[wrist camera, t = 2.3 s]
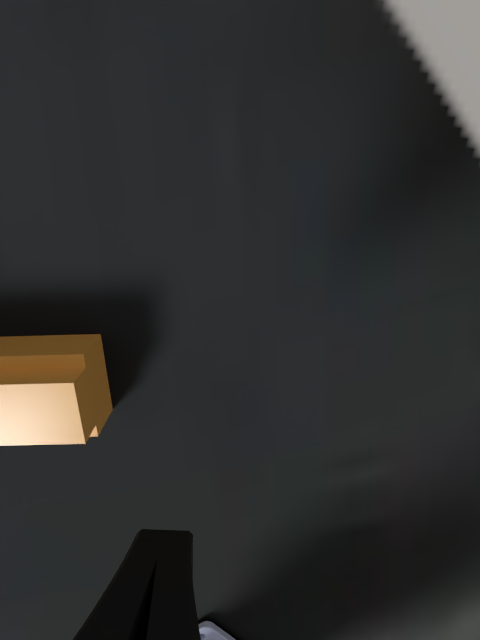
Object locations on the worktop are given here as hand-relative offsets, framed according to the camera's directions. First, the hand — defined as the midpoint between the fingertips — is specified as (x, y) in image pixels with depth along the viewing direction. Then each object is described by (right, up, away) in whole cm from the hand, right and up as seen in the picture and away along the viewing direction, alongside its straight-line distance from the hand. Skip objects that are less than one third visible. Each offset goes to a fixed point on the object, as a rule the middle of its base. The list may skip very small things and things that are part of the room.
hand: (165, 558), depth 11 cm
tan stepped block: (-8, +4, +9) cm, 12 cm away
